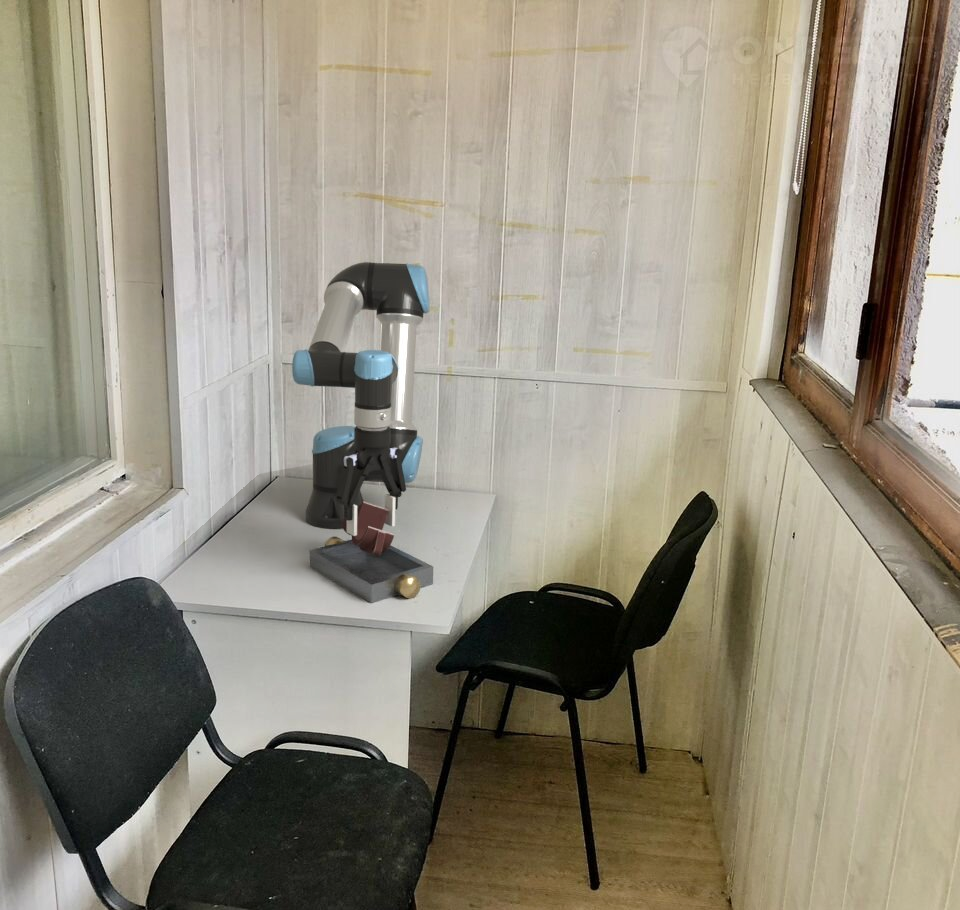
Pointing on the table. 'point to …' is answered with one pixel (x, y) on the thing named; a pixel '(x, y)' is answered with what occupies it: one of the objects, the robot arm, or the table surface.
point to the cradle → (371, 570)
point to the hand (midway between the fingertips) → (371, 529)
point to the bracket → (371, 529)
